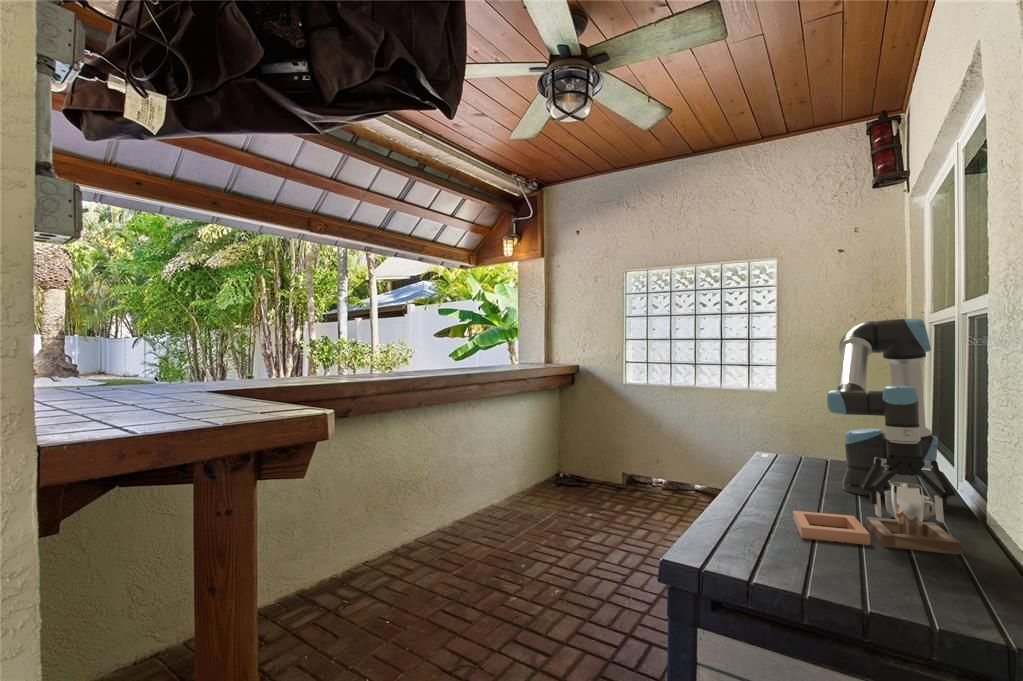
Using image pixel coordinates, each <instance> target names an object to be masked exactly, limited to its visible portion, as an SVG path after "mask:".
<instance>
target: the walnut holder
mask: <svg viewBox="0 0 1023 681" xmlns="http://www.w3.org/2000/svg"><path fill="white" fill-rule="evenodd" d="M865 523H866V525H865V526H866V528H867V530H868V531H869V532H870V533H871V534H872V535H873V536H874V537H875V538H876V539H877V541H878V542H879V543H880V544H881V545H882V546H883V547H884V548H885V547H886V548H894V549H902V550H903V549H905V550H914V551H919V552H920V551H923V552H933V553H942V554H950V555H958V554H959V555H960V556H962V554H963V553H962V543H961V542H960V541H959V540H958V539H956V538H955V537H953V536H952V534H950V533H948V532H947V531H946V530H945V529H943V528H942V527H940V526H939V525H938V524H936V523H935V522H931V521H923V522H922V533H923V536H916V535H905V534H896V532H897V521H896V519H895V518H893V519H892V518H883V517H871V516H865Z"/></svg>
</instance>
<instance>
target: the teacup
mask: <svg viewBox="0 0 1023 681" xmlns="http://www.w3.org/2000/svg"><path fill="white" fill-rule="evenodd" d="M884 493H885V496H884V502H885V509H886V511H887V513H888V514H889V515H890V516H892V518H893V519H896V517H895V514H894V510H893V506H892V500H891V491H885V492H884ZM923 498H924V514H923V520H922V522H925V521H926V520H928V519H929V518H930V517H933V516H936V510H935V502H933V501H931V498H930V497H928V496H926V495H924V494H923ZM930 508H931V511H930Z"/></svg>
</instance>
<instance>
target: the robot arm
mask: <svg viewBox="0 0 1023 681" xmlns="http://www.w3.org/2000/svg"><path fill="white" fill-rule="evenodd" d="M838 350H839V353H840V356H841V357H840V362H839V364H840V365H839V371H838V378H837V379H838V380H837V385H836V389H835V390H829V391H828V392H827V393H826V394H827V395H826V403H827V409H828V411H829V412H830V413H831V414H838V415H844V416H845V415H850V416H851V415H855V416H877V417H878V416H879V417H884V428H885V432H884V431H883V430H882V429H881V428H861V429H860V428H859V429H851V430H848V431H846V432H845V434H844V446H845V462H846V470H845V474H844V476H843V479H842V490H843V491H845V492H848V493H851V494H854V495H859V496H860V495H862V496H867V497H868V496H869V499H870V503H871V504H872V505H874V511H875V515H876V517H877V518H883V516H882V514H883V513H882V500H881V497H885V493H884V492H885V491H891V482H890V480H891V479H892V478H893V477H895V476H896V475H899V476H908V477H915V476H916V475H917V476H918V477H919V478H920V479H921V480H922V481H924V483H925V484H927V486H928V487H929V488H931V489H932V490H933V491H934V493H935V494H937V495H934V497H933V498H934V504H935V510H936V514H935V520H936V521H938V522H939V523H943V524H944V523H945V518H944V516H945V515H944V510H946V511H947V510H948V499H949V497H955V496H956V495H957V494H956V492H955V490H954V488H952V486H951V484H950V482H949V481H948V480H947V478H945V476H944V474H943V473H942V471H941V470H940V468H939V464H938V462H937V455H938V446H939V444H938V443H939V440H938V437H937V436H935V435H933V434H932V433H933V432H932V430H930V428H928V427H926V416H925V415H926V414H925V402H924V391H923V390H924V389H923V376H922V374H923V373H922V363H921V362H922V360H924V359H925V358H926V357H927V353H928V352H930V351H932V348H931V343H930V338H929V335H928V331H927V327H926V324H925V321H924V320H923V319H922V318H908V317H907V318H897V319H895V318H894V319H885V320H884V319H883V320H870V321H864V322H861V323H859V324H857V325H855V326H854V327H853V326H852V328H850V329H849V330H848V331H847V332H846V333H845V334H844V335H842V337H841V339H840V341H839V346H838ZM871 354H882V358H883V359H884V360H885V361H887V362H888V366H889V375H890V376H889V378H890V385H887V386H884V387H883V389H882V390H867V374H868V361H869V357H870V356H871ZM886 466H888V468H887V469H886V468H885V467H886ZM922 469H923V470H924V469H926V470H930V471H931V472H932V473H933V476H935V478H936V479H937V481H938V482H939V484H940V485H941V487H942V488H943V490H942V488H940V487H939V486H938V485H937V484H936V483H935V482H934V481H933V480H932V479H931V478H929V477H928V476H927V475H926V473H924V472H923V471H922Z"/></svg>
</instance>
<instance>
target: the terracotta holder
mask: <svg viewBox="0 0 1023 681" xmlns="http://www.w3.org/2000/svg"><path fill="white" fill-rule="evenodd" d="M792 517H793V518H792V520H794V521H793V522H794V525H795V526H796V528H797V531H798V533H799V535H800V537H801V538H802V539H806V540H807V539H809V540H817V539H818V540H817V541H826V540H827V542H835V541H837V542H839V543H845V542H846V543H845V544H856V545H857V544H858V545H864V546H871V534H870V532H869V530H868V529H866V528H865V527H864V525H862V523H860V521H859V520H858V519H857V518H856V517H855V515H849V514H848V515H847V514H836V513H825V512H812V511H803V510H802V511H801V510H800V511H799V510H792ZM813 524H814V525H813ZM823 525H824V526H823ZM837 542H836V543H837Z"/></svg>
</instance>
